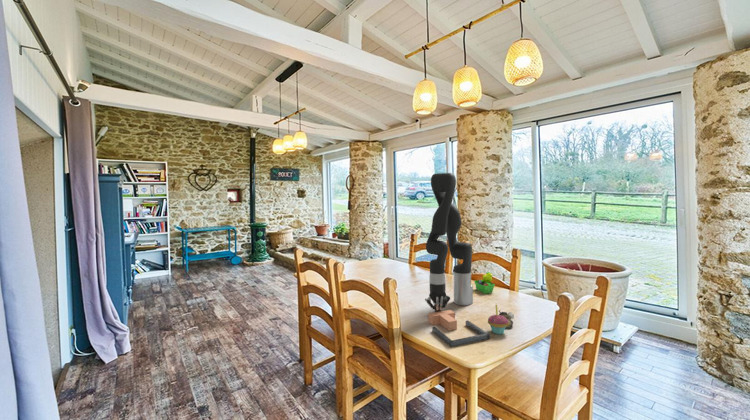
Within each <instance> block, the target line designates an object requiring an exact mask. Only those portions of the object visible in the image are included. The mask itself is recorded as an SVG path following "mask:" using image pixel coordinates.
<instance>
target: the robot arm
mask: <svg viewBox="0 0 750 420" xmlns="http://www.w3.org/2000/svg"><path fill="white" fill-rule="evenodd" d="M456 184H457V178H456V176H455V174H454V173H452V172H443V173H442V172H439V173H433V174H432V176H431V177H430V185H431V190H432V192H433V195H434V197H435V200H436V202H437V204H438V205H437V206H438V208H437V209H436V210H435V212H434V214H433V216H432V220H431V229H430V233H429V235H428V237H427V240H426V243H425V250H426V252H427V254H429V255H434V256H436V258H434V259H431V260H430V261H429V276H428V278H429V295H428V297H427V298H425V299H424V301H425V302H426V304H427V305H429V307H430V308H431V309H433V310H434V312H440V311H442V309H445V308H446V306H447V305H448V303H449V301H450V300H451V297H450V296H449V295H447V293H446V292H447V291H446V289H447V288H446V271H445V269H446V266H445V265H446V260H447V256H448V251H449V255H450V256H451V258H452V259H457V260H462V263H459V264H456V265H455V264H454V266H453V304H455V305H458V306H470V305H471V304H473V303H474V299H473V298H474V286H473V285H472V264H473V263H472V261H473V260H472V259H473V257H472V256H473V247H472V244H471V243H470V242H464V241H463V242H461V241H458V240H457V236H458V235H457V234H458V233H459V231H460V229H461V227H462V224H463V223H462V221H463V220H462V217H461V213H460V210H459V209H458V207H456V205H455V204H454V203H453V198H454V196H455V195H454V194H455V192H456V186H457V185H456ZM441 236H446V237H447V242H448V244H447V242H446V241H444V240H439V237H441Z"/></svg>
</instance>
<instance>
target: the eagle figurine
mask: <svg viewBox="0 0 750 420" xmlns="http://www.w3.org/2000/svg"><path fill="white" fill-rule="evenodd" d="M498 312H499V313H498V315H501V316H504V317H505V318H506V319H508V321H509V325H508V326H507V327H506V328H505V330H510V329H512V328H513V325H514V321H513V319H515V314H514V313H513V312H512V311H511V312H510V311H509V312H508V311H500V310H499V311H498Z"/></svg>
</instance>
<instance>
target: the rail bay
mask: <svg viewBox="0 0 750 420" xmlns="http://www.w3.org/2000/svg"><path fill="white" fill-rule="evenodd" d="M465 326H467V327H468V328H469V329H471V330H472V331H474V332H475V333H476V334H477V335H472V336H467V337H466V336H465V337H462V338H457V339H451V338H449V336H447V335H446V334H445V333H444V332H442V331H441V330H440V329H439V328H437V327H436V326H432V328H431V331H432V333H434V334H435V335H436V336H437V337H438V338H440V340H442V341H443V342H444V343H445V344H446V345H448V346H449V347H451V348H453V347H458V346H462V345H463V346H464V345H467V344H473V343H477V342H481V341H487V340H490V338H491V337H490V336H491V335H490V333H488V332H487V331H485V330H483V328H481V327H479V326H478V325H476V324H474V323H473V322H471V321H469V320H465Z"/></svg>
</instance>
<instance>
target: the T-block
mask: <svg viewBox="0 0 750 420" xmlns="http://www.w3.org/2000/svg"><path fill="white" fill-rule="evenodd" d="M427 320H428V323H429V324H431V325H433V326H434V325H441V326H442V327H444V328H445V329H446V330H448V331H454V330H455V331H456V330H458V320H457V319H456V312H454V310H451V309H447V310H441V311H440V312H435V311H433V312H429V313H427Z"/></svg>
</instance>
